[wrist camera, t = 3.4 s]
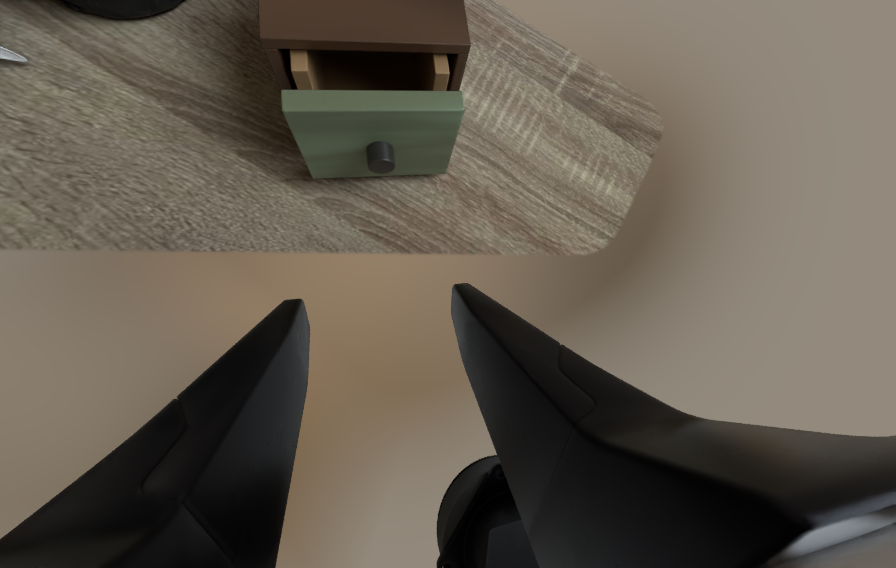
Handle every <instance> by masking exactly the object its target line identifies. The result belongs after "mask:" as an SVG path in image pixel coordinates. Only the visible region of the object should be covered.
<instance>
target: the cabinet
mask: <svg viewBox="0 0 896 568" xmlns="http://www.w3.org/2000/svg"><path fill="white" fill-rule="evenodd" d="M258 9H259V36H260V40H261V43H262V45H263V47H264V50H265V52H266V54H267V57H268V59H269V61H270V64H271V66H272V69H273V71H274V73H275V76H276V78H277V80H278V83H279V85H280V87H281V90H298V89H297V86H296V83H295V80H294V77H293V75H292V72H291V61H290V49H309V50H344V51H379V52H415V53H447V59H448V66H449V72H450V74H449V79H448V84H447V88H446V91H459V89H460V85H461V81H462V78H463V74H464V70H465V66H466V62H467V58H468V54H469V50H470V47H471V42H470V36H469V30H468V24H467V18H466V11H465V5H464V0H258Z"/></svg>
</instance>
